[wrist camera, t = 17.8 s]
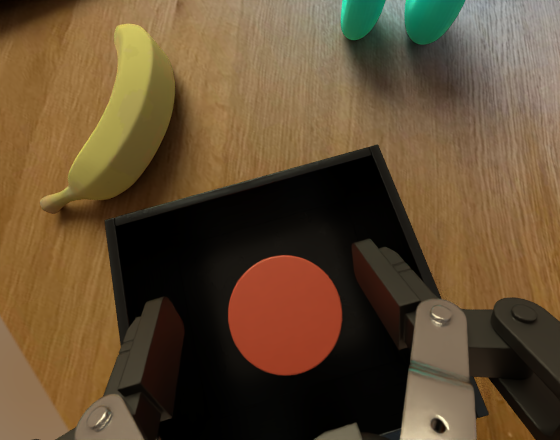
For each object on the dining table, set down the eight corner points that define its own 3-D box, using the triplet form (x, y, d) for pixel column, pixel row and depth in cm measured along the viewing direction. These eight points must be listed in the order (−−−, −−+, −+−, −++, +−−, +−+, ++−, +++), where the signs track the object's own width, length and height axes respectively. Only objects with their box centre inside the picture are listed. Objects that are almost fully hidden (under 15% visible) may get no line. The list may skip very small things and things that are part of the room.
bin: (204, 424, 22) (143, 525, 13) (171, 244, 26) (103, 220, 16) (407, 362, 23) (489, 415, 13) (346, 194, 26) (378, 143, 17)
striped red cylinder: (265, 339, 23) (240, 394, 11) (250, 278, 24) (214, 270, 12) (325, 322, 23) (362, 359, 11) (307, 262, 24) (324, 239, 13)
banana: (189, 30, 22) (38, 234, 21) (224, 80, 27) (103, 247, 26) (105, 2, 28) (-18, 162, 27) (146, 47, 33) (44, 184, 32)
